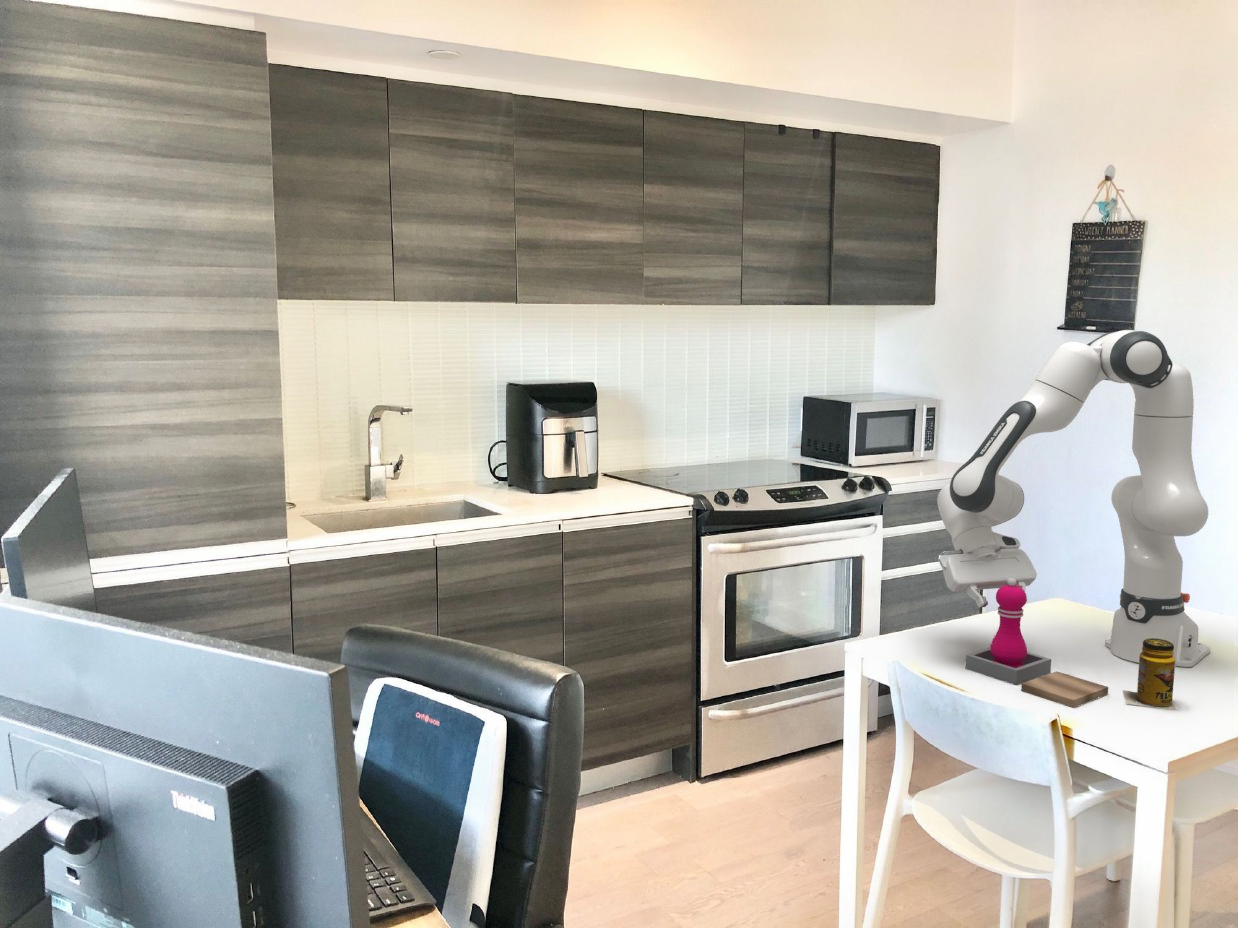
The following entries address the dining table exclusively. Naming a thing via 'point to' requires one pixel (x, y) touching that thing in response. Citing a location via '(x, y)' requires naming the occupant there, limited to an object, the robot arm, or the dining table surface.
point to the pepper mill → (1009, 626)
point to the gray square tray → (1029, 671)
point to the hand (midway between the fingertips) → (1003, 604)
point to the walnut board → (1064, 689)
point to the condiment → (1154, 676)
